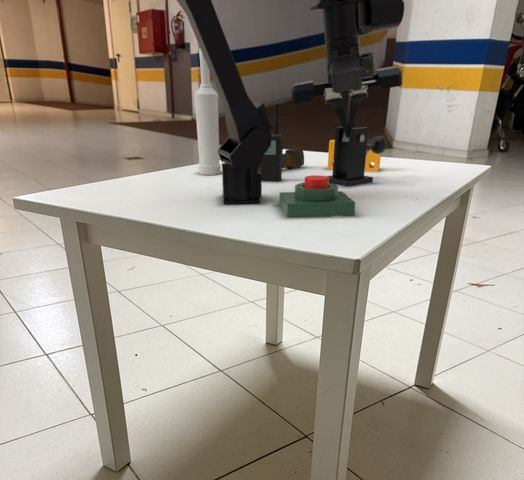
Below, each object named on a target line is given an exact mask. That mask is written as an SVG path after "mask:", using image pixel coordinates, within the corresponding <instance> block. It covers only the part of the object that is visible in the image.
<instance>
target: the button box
mask: <svg viewBox="0 0 524 480" xmlns="http://www.w3.org/2000/svg"><path fill="white" fill-rule="evenodd" d="M304 183H305V182H300V183H297V184H295V185H294V191H286V192H285V191H283V192H282V191H281V192H279V195H278V196H279V198H278V199H279V200H278V201H279V207H280V208H281V210H282V212H283V213H284V215H285V217H286V218H287V219H289V218H290V219H291V218H326V217H327V218H328V217H329V218H331V217H338V216H339V217H355V212H356V211H355V210H356V201H354V200H353V199H352V198H351V197H349V196H348V195H347V194H346V193H344V192H343V191H341V190H339V185H336V184H331V183H329V188H324V189H313V188H306V187H304Z"/></svg>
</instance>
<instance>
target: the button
mask: <svg viewBox="0 0 524 480" xmlns="http://www.w3.org/2000/svg"><path fill="white" fill-rule="evenodd" d="M327 176H328V175H307V176H305V177H304V182H303V183H304V187H306V188H313V189H324V188H329V177H327Z"/></svg>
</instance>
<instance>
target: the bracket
mask: <svg viewBox="0 0 524 480" xmlns="http://www.w3.org/2000/svg"><path fill="white" fill-rule="evenodd" d="M334 133H335V134H334V140H335V146H334V160H333V169H332V174H330V175H326V176H327V177H329V183H331V184H335V185H337V186H342V187H344V188H345V187H346V188H348V187H353V186H359V185H364V184H365V185H366V184H372V183H373V182H374V176H369V175H365V172H366V171H365V161H366V154H367V149H368V145H367V140H368V139H369V127H355V126H354V125H353V130H352V134H351V137H350V138H349V143H345V142H342V138H343V133H344V130H343V127H342V126H336V127H335V132H334Z"/></svg>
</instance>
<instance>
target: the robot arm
mask: <svg viewBox="0 0 524 480" xmlns="http://www.w3.org/2000/svg"><path fill="white" fill-rule="evenodd" d="M176 2H177V3H178V5H179V6H180V7H181V9H182V10H183V11H184V13H185V14H186V17H187V19H188V22H189V24H190V28H191V29H192V31H193V34H194V36H195V40H196V42H197V44H198V47H199V48H200V49H201V51H202V53H203V56H204V58H205V61H206V63H207V66H208V68H209V70H210V76H211V78H212V80H213V82H214V86H215V88H216V90H217V93H218V96H219V97H220V99H221V102H222V104H223V109H224V118H225V125H226V126H225V127H226V130H227V134H228V137H227V138H226V139H225V141H224V142H223V143H222V144H221V145H220V146H219V149H218V154H219V161H220V162H222V163H221V179H222V180H221V181H222V183H221V185H222V193H221V199H222V204H224V205H230V204H231V205H233V204H236V205H237V204H260V203H261V198H262V194H263V193H262V192H263V191H262V185H263V184H262V182H263V181H262V175H261V173H260V172H258V167H260V164H261V161H262V158H263V155H264V154H265V153H266V152H267V150H268V149H269V147H270V144H271V142H272V135H271V134H272V131H271V130H274V125H272V124H271V122H270V120H269V117H268V113H267V108H266V106H265V104H264V103H259V102H253V101H252V100H251V99H250V96H249V95H248V93H247V90H246V87H245V85H244V82H243V79H242V77H241V75H240V72H239V68H238V66H237V64H236V61H235V59H234V56H233V53H232V50H231V49H230V45H229V43H228V40H227V37H226V36H225V32H224V30H223V27H222V25H221V22H220V20H219V17H218V14H217V11H216V9H215V7H214V6H215V5H214V4H213V0H176ZM320 10H321V11H322V20H323V21H322V22H323V23H322V24H323V35H324V45H325V46H324V47H325V58H326V59H325V61H326V71H327V82H321V83H316V84H315V83H314V80H307V81H300V82H296V83H294V84H293V85H292V87H291V91H290V92H291V101H292V104H293V105H296V104H303V103H308V102H312V99H313V98H314V97H318V96H322V95H323V97H324V102H325V104H326V105H329V104H331V105H332V107H333V109H334V111H335V112H336V114H337V117H338V119H339V121H340V124H341V127H343V130H344V133H345V135H346V138H348V137H349V138H350V137H351V134H352V130H353V126H354V124H355V120H356V116H357V112H358V109H359V106H360V104H361V102H362V100H363V99H365V98H368V96H369V92H367V90H368V88H370V87H374V86H375V87H377V86H379V87H381V88H382V90H383V89H384V90H385V89H391V88H397V87H402V86H403V72H402V70H401V69H400V68H399V67H398V66H395V65H393V66H387V67H381V68H374V67H375V66H374V65H375V64H374V54H373V52H367V53H361V43H360V31H361V32H362V33H363V34H365V35H366V34H371V33H372V34H373V33H377V32H382V31H387V30H393V29H396V28H399V26H401V23H402V21H403V18H404V14H405V13H404V12H405V1H404V0H314V1H312V3H311V5H310V6H309V11H310V12H317V11H320ZM346 91H349V92H348V109H347V116H346V110H345V107H344V102H343V101H344V99H343V96H342V95H341V94H342V93H343V92H346Z"/></svg>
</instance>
